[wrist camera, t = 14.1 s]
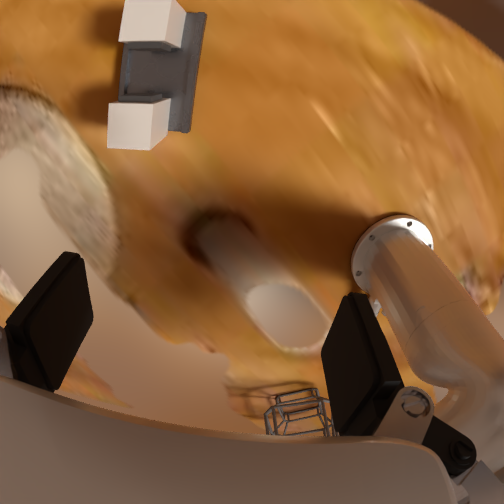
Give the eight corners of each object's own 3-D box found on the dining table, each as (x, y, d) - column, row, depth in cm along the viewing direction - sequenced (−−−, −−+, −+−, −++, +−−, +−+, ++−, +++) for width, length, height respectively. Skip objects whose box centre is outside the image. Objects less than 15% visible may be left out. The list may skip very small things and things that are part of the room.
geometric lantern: (267, 422, 63) (275, 567, 33) (253, 385, 55) (257, 567, 25) (337, 410, 62) (363, 554, 31) (336, 370, 54) (374, 551, 24)
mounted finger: (179, 53, 26) (163, 47, 20) (141, 52, 26) (117, 48, 20) (186, 12, 24) (172, -4, 18) (148, 12, 23) (125, -2, 17)
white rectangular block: (167, 135, 31) (149, 150, 25) (131, 133, 30) (107, 148, 24) (171, 92, 28) (153, 97, 22) (134, 91, 28) (109, 96, 22)
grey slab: (190, 130, 32) (188, 133, 30) (120, 126, 31) (115, 129, 29) (207, 15, 25) (205, 12, 24) (133, 14, 24) (128, 12, 23)
